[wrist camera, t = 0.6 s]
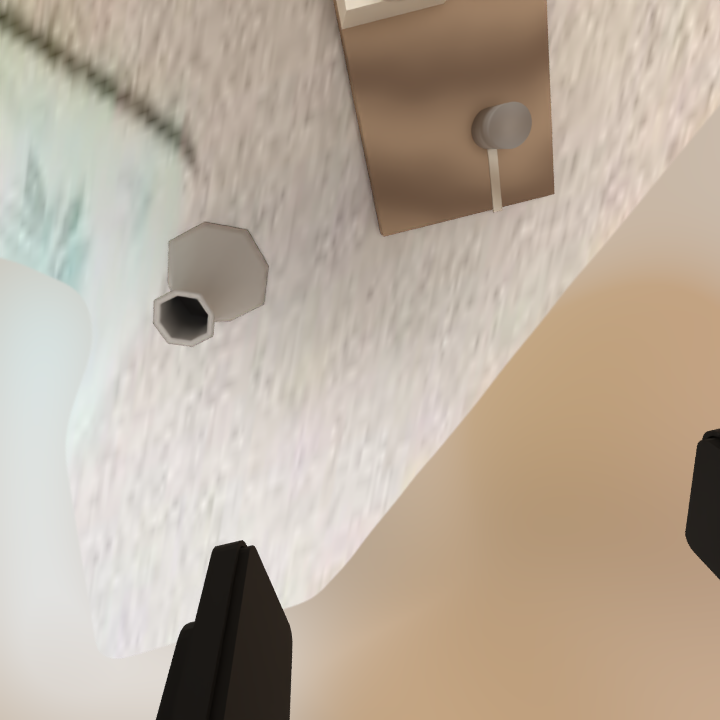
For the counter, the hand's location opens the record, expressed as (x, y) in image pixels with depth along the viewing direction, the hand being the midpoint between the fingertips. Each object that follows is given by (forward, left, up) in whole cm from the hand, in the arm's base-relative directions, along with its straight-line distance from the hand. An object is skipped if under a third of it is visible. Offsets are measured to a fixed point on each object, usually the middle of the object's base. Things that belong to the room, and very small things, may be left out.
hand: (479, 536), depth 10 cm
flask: (-2, -10, -27) cm, 29 cm away
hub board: (-11, +8, -27) cm, 30 cm away
